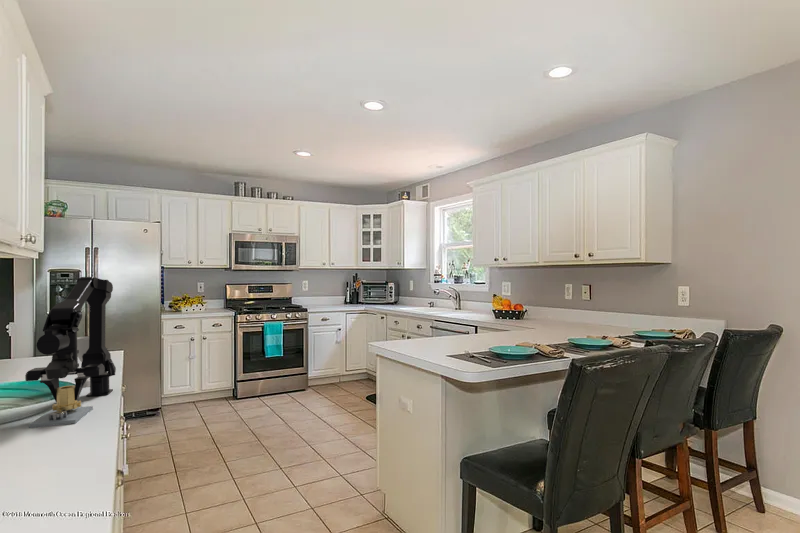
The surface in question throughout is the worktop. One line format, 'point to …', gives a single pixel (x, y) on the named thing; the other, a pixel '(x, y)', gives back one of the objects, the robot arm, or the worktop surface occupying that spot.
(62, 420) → the plate
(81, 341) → the chalice
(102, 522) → the worktop surface
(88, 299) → the robot arm
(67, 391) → the planet gear
